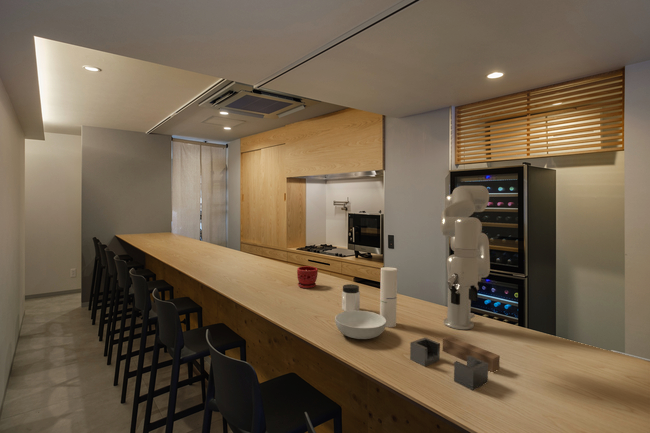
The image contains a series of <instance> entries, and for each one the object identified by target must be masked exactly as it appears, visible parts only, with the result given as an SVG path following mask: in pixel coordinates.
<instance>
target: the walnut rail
mask: <svg viewBox="0 0 650 433" xmlns="http://www.w3.org/2000/svg"><path fill="white" fill-rule="evenodd" d="M442 352H444V353H445V354H448V355H450V356H453V357H455V358H458V359H460V360H462V361H464V362H465V363H467V356H472V357H474V358H477V359H479V360H482V361H484V362H486V363H488V372H489V371H490V372H489V373H491V372H494V371H496V370H498V371H500V358H501V357H500V356H501V355H499V354H497V353H494V352H491V351H489V350H486V349H483V348H481V347H478V346H476V345H473V344H471V343H468V342H466V341H463V340H460V339H458V338H455V337H452V336H450V335H449V336H446V337H443V338H442ZM496 372H497V371H496ZM494 373H495V372H494Z"/></svg>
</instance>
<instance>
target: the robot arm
mask: <svg viewBox="0 0 650 433" xmlns="http://www.w3.org/2000/svg"><path fill="white" fill-rule="evenodd" d="M489 201H490V193H489V190H488V188H487V186H484V185H459V186H457V187H455V188H454V189H453V191H452V193H451V194H448V195H446V197H445V199H444V206H445V208H444V209H443V210H442V212H441V216H440V227H439V229H440V233H441V234H442V235H443V236H445V237H447V238H448V237H449V238H450V248H451V250H452V251H453V254H451V255H449V256H448V257H447V259H446V269H447V281H446V282H447V312H446V313H447V317H445V318H444V319H443V324H444V325H445V326H447V327H448V328H450V329H454V330H455V329H456V330H466V331H467V330H472V329H473V328H474V327H475V324H474V322H473V321H471V320H472V319H473V318H476V315H475V313H473V312H471V308H472V307H471V304H472V301H473V302H478V300H479V299H478V297H479V296H478V295H479V294H478V293H479V291H478V290H480V285H481V281H482V278H487V277H489V275H490V271H491V263H490V262H491V261H490V260H491V259H490V242H489V237H488V235H487V234H485V233H484V232H483V230H482V229H483V224H482V222H481V221H480V219H479V218H477V217H473V216H472V215H473V214H474V213H482V212H484V211H485V210H486V208H487V206H488V204H489ZM470 216H472V217H470Z"/></svg>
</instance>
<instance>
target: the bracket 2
mask: <svg viewBox="0 0 650 433" xmlns="http://www.w3.org/2000/svg"><path fill="white" fill-rule="evenodd" d="M488 376H489V371H488V363H486V362H484V361H482V360H479V359H477V358H474V357H472V356H467V362H466V364H465V363H462V362H460V361H458V360H455V361H454V364H453V381H454V383H457V384H458V385H460V386H462V387H465V388H466V389H469V390H471V391H475V390H476V389H478V388H481V387H482V386H484V385H486V384H488V383H487V382H489V381H488V380H489V377H488ZM485 383H486V384H485ZM483 384H484V385H483Z"/></svg>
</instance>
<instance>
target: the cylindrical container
mask: <svg viewBox="0 0 650 433" xmlns="http://www.w3.org/2000/svg"><path fill="white" fill-rule="evenodd" d="M397 287H398V268H396V267H391V266H390V267H389V266H387V267H384V266H383V267H380V293H379V294H380V295H379V296H380V297H379V298H380V300H379V315H381V316H383V317H384V318H385V319H386V326H385V328H394V327H396V326H397V300H398V299H397V297H398V294H397V293H398V291H397V289H398V288H397Z"/></svg>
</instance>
